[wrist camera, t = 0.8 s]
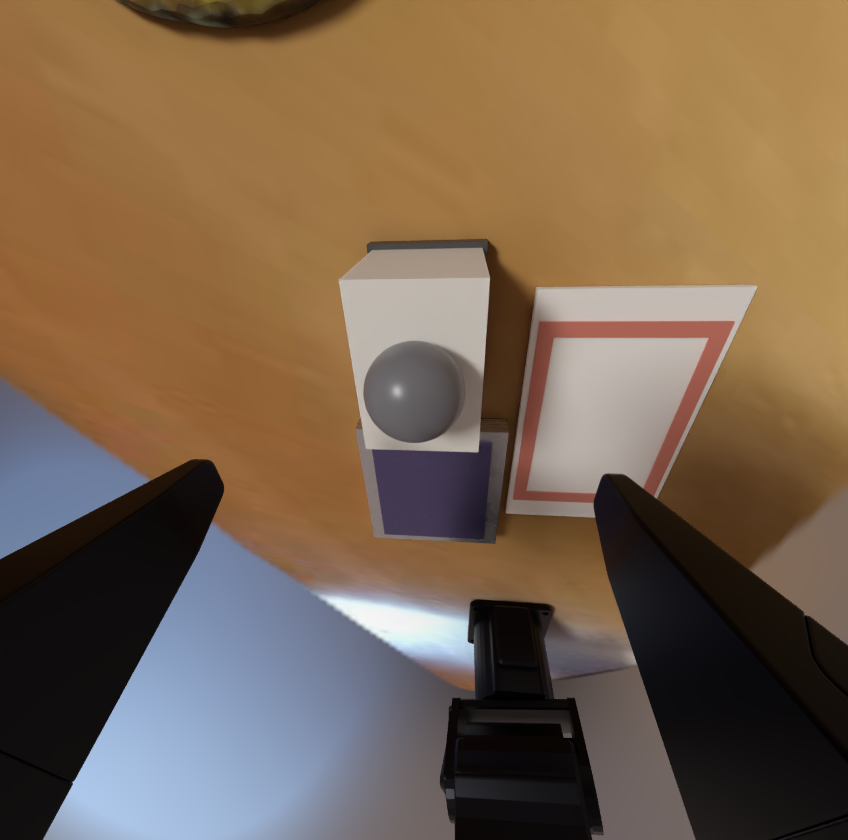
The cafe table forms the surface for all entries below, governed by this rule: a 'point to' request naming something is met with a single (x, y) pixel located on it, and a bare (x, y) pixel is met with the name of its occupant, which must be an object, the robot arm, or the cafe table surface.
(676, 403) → the sheet
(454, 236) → the cafe table surface
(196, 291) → the cafe table surface
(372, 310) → the stamp
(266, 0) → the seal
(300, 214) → the cafe table surface
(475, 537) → the ink pad
